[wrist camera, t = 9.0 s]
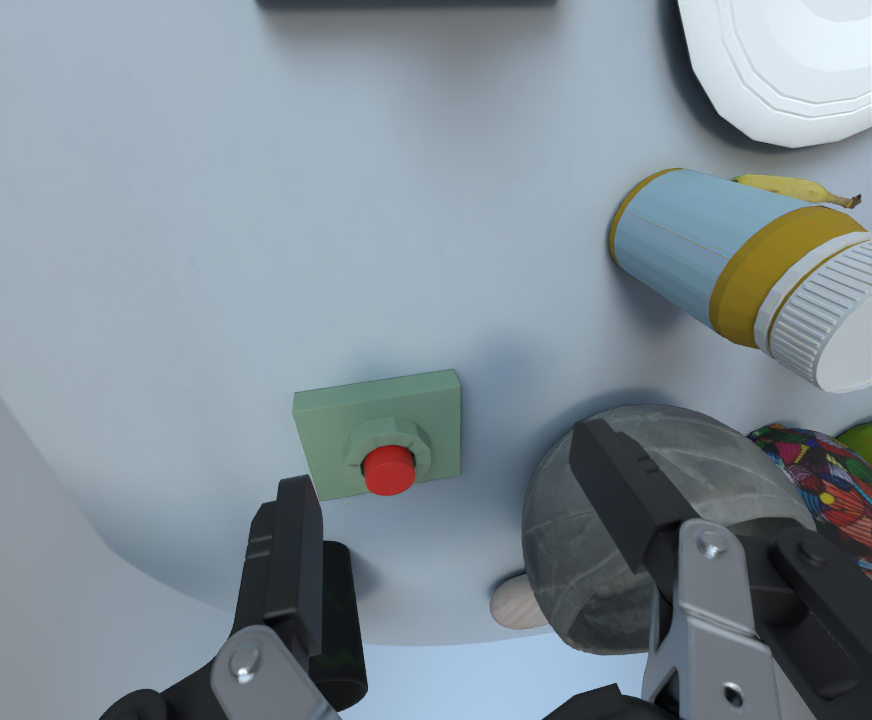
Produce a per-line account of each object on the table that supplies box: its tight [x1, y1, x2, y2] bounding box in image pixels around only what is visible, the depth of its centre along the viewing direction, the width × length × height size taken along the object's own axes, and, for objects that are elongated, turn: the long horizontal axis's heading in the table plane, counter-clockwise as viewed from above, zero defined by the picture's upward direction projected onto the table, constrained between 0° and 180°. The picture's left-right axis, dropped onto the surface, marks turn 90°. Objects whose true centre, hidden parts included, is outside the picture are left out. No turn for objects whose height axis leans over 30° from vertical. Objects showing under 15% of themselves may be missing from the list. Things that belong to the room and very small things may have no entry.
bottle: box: [609, 168, 872, 393], centre depth 22 cm, size 7×7×15 cm
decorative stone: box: [490, 574, 549, 629], centre depth 52 cm, size 13×9×5 cm
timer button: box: [364, 445, 415, 496], centre depth 30 cm, size 4×4×2 cm
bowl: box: [522, 404, 817, 655], centre depth 35 cm, size 21×21×15 cm
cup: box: [308, 541, 368, 712], centre depth 37 cm, size 8×8×12 cm
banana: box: [731, 174, 861, 209], centre depth 27 cm, size 8×2×4 cm, turn 84°
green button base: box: [292, 369, 461, 502], centre depth 32 cm, size 12×10×4 cm
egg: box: [747, 424, 872, 575], centre depth 41 cm, size 11×11×15 cm
